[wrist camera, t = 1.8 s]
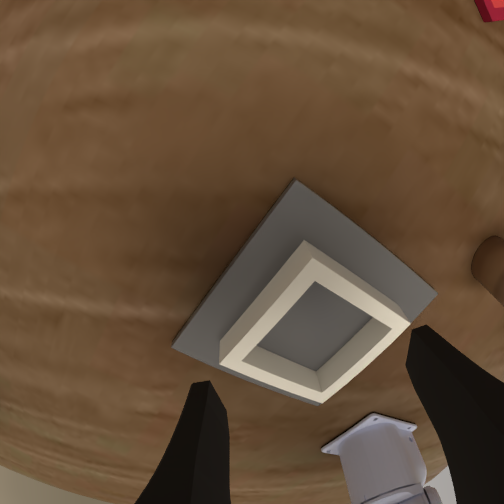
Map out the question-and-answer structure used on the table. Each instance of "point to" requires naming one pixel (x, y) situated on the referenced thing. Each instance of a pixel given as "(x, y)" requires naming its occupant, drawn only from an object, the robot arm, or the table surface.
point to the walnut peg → (490, 266)
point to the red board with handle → (491, 9)
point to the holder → (304, 302)
